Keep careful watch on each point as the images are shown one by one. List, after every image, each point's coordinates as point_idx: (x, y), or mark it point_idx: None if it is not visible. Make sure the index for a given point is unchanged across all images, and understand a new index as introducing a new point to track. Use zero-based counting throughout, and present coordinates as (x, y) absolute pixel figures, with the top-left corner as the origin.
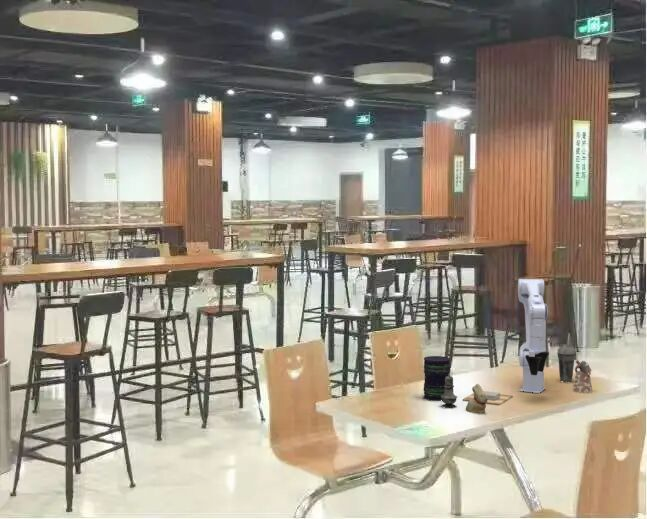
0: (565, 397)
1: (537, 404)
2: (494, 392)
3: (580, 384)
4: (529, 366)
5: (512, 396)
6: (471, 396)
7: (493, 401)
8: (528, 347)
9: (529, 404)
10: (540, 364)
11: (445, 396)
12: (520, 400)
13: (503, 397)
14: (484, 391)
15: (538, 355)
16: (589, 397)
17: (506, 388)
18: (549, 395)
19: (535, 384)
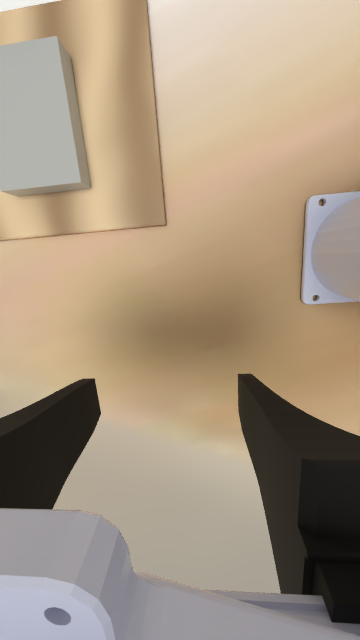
0: None
1: (110, 359)
2: (68, 149)
3: None
4: (24, 411)
5: (163, 224)
6: (12, 35)
7: (2, 198)
8: (49, 622)
9: (90, 335)
10: (253, 435)
11: None
12: (130, 280)
13: (102, 203)
14: (52, 81)
15: (287, 507)
16: None
17: (355, 97)
18: (291, 348)
19: (336, 285)
